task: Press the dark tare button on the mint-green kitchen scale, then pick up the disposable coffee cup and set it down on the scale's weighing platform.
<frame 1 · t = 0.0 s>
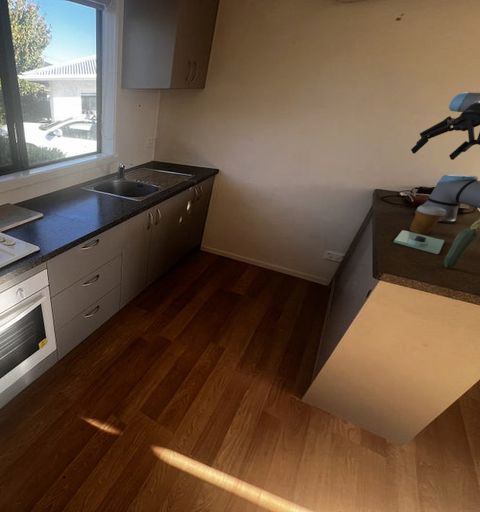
hand: (430, 154, 120), 36 cm above the worktop, tool tilted 35°, fingers open, 13 cm apart
vegetable: (444, 267, 110), on the worktop
tare button: (420, 239, 124), point 4 cm above the worktop, slide at 0.2 cm
disposable coffee cup: (417, 232, 140), on the worktop
scale: (418, 242, 129), on the worktop
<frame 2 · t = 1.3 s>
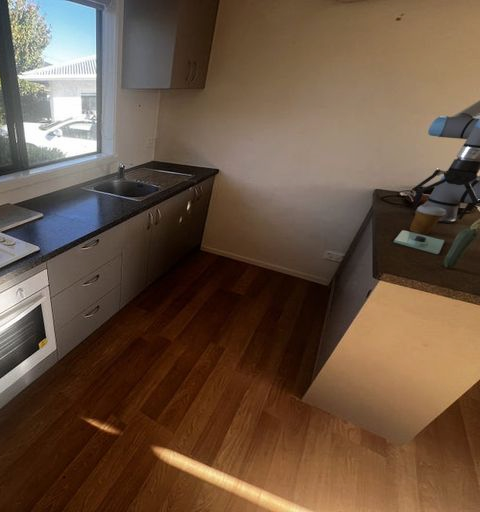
hand: (435, 213, 118), 15 cm above the worktop, tool pointing down, fingers open, 13 cm apart
nothing on the worktop moved.
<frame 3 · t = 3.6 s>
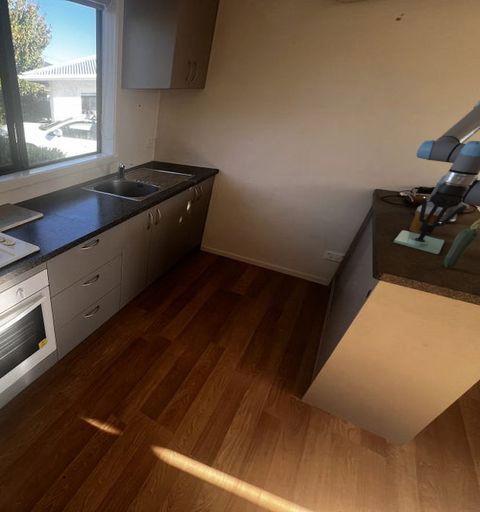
hand: (420, 238, 123), 4 cm above the worktop, tool pointing down, fingers closed
tare button: (419, 240, 124), point 3 cm above the worktop, slide at -0.7 cm, touching gripper
everything else where it was.
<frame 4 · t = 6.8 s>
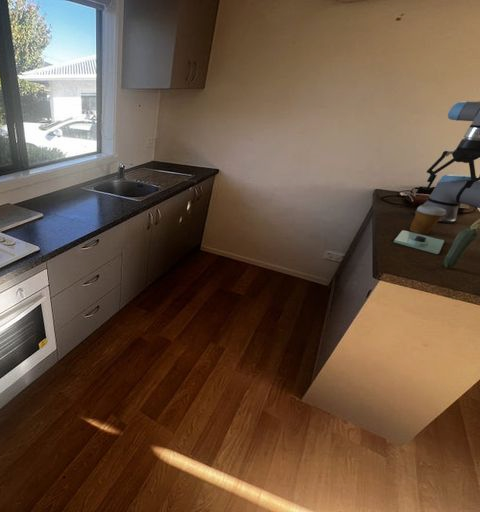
hand: (442, 192, 130), 20 cm above the worktop, tool pointing down, fingers open, 9 cm apart
tare button: (420, 239, 124), point 4 cm above the worktop, slide at 0.2 cm
everything else where it was.
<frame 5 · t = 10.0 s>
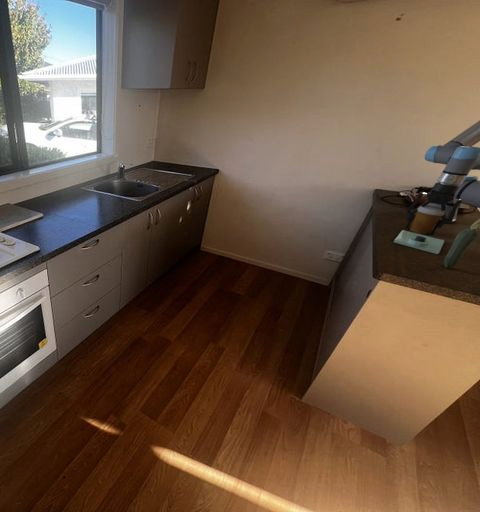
hand: (419, 230, 139), 1 cm above the worktop, tool pointing down, fingers closed on disposable coffee cup, 8 cm apart
disposable coffee cup: (417, 232, 140), on the worktop, touching gripper
everything else where it was.
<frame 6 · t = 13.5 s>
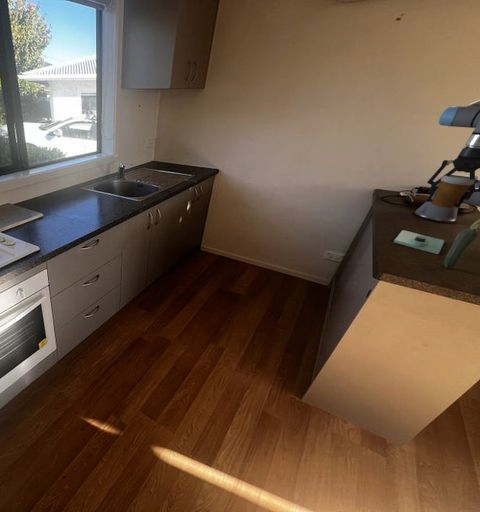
hand: (442, 203, 122), 17 cm above the worktop, tool pointing down, fingers closed on disposable coffee cup, 8 cm apart
disposable coffee cup: (441, 206, 122), point 17 cm above the worktop, touching gripper
everything else where it was.
when the fingers open (2 cm above the worktop, at t = 17.4 s): disposable coffee cup stays where it is, resting on scale.
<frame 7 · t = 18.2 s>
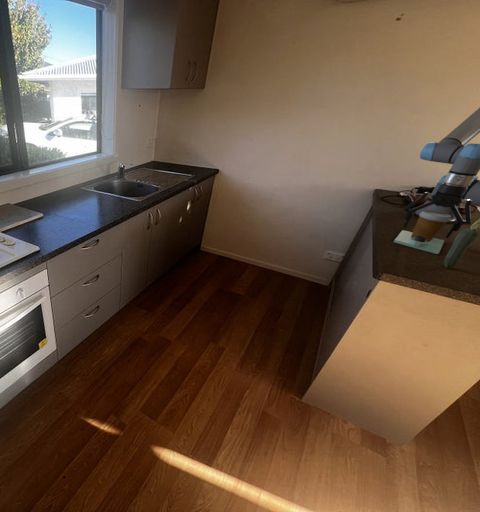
hand: (424, 231, 128), 5 cm above the worktop, tool pointing down, fingers open, 13 cm apart
disposable coffee cup: (420, 239, 130), point 1 cm above the worktop, touching scale
everything else where it was.
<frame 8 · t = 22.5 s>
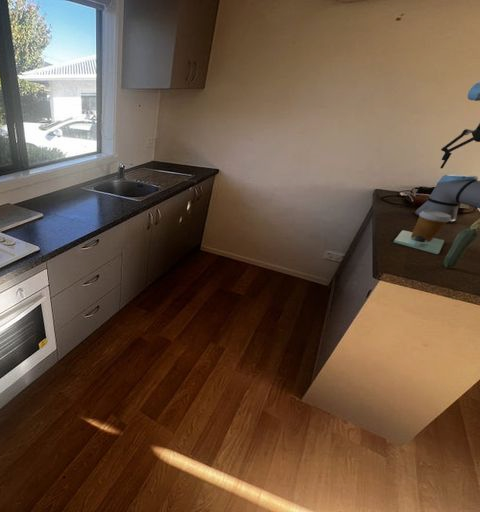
hand: (463, 171, 127), 29 cm above the worktop, tool pointing down, fingers open, 13 cm apart
nothing on the worktop moved.
at the end: tare button pushed in 1.0 cm at the most during the clip, back to 0.2 cm at the end; disposable coffee cup inside the target area on the scale (0.1 cm from its centre), point 1.0 cm above the scale's base; disposable coffee cup touching scale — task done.
